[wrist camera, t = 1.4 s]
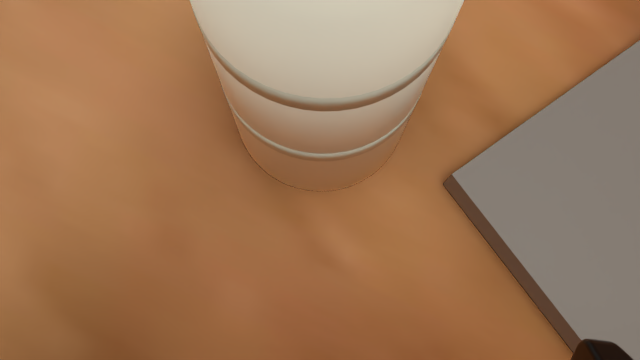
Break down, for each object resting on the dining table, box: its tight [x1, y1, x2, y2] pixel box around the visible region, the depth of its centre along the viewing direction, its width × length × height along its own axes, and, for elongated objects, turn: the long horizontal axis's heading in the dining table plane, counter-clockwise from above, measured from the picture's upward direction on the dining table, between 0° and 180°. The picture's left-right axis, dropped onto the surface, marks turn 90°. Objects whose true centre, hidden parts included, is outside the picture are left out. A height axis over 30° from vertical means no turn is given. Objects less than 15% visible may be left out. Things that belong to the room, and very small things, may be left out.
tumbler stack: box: [190, 0, 464, 191], centre depth 17 cm, size 6×6×13 cm
